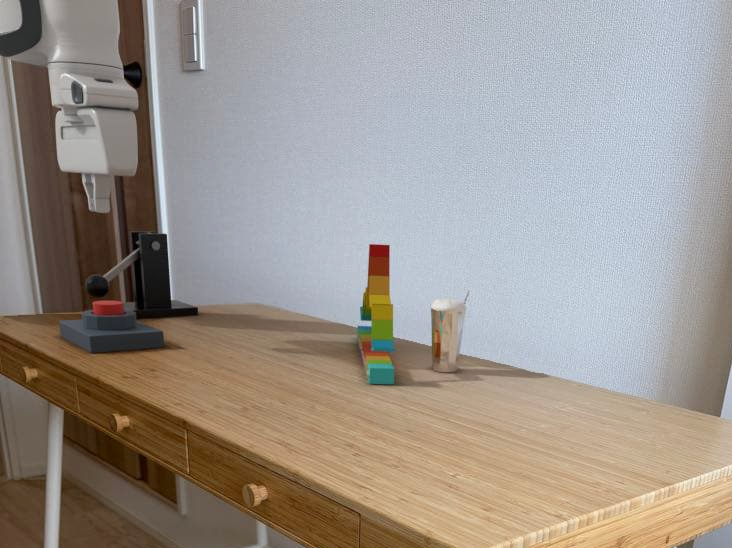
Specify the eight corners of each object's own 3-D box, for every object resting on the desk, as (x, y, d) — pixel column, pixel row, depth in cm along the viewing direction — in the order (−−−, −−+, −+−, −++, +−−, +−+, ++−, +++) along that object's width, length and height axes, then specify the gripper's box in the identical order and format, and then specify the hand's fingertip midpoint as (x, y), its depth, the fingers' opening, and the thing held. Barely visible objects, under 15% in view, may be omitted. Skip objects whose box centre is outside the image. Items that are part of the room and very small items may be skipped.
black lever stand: (128, 319, 134) (121, 234, 129) (109, 311, 140) (101, 230, 135) (198, 315, 141) (194, 234, 136) (176, 307, 147) (171, 230, 142)
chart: (355, 338, 127) (357, 234, 121) (376, 339, 128) (379, 235, 122) (367, 384, 100) (371, 252, 94) (393, 384, 100) (399, 253, 94)
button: (89, 314, 115) (88, 301, 114) (118, 312, 117) (117, 299, 117) (99, 318, 112) (98, 305, 111) (128, 316, 114) (127, 303, 114)
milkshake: (473, 371, 109) (479, 293, 105) (439, 374, 106) (443, 294, 102) (454, 365, 112) (460, 288, 108) (420, 367, 110) (425, 289, 106)
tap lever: (100, 303, 133) (85, 285, 131) (92, 300, 136) (77, 282, 133) (166, 249, 136) (152, 230, 134) (157, 247, 139) (144, 228, 137)
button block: (60, 336, 118) (57, 307, 116) (129, 331, 124) (127, 304, 122) (91, 353, 109) (88, 322, 107) (164, 347, 114) (162, 317, 113)
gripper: (38, 95, 110) (51, 207, 115) (89, 87, 95) (102, 216, 100) (86, 99, 113) (97, 208, 119) (143, 92, 99) (152, 217, 104)
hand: (99, 212), depth 109 cm, fingers closed
